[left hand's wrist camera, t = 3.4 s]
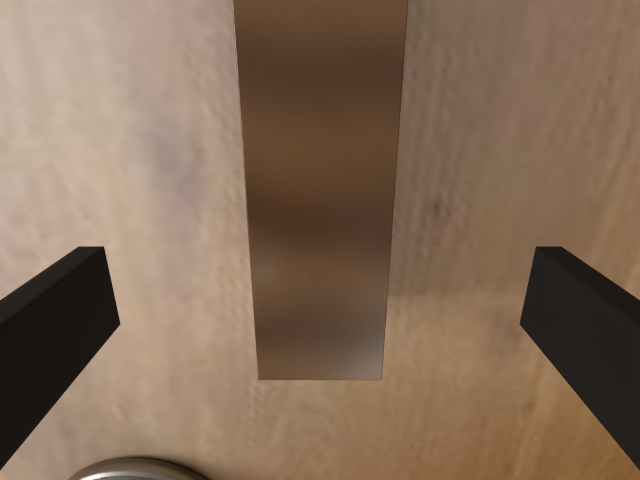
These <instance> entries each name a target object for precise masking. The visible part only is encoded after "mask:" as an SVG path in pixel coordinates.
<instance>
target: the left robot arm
mask: <svg viewBox="0 0 640 480" xmlns="http://www.w3.org/2000/svg"><path fill="white" fill-rule="evenodd" d="M119 325H120V320H119V315H118V311H117V306H116V301H115V297H114V292H113V287H112V282H111V278H110V273H109V268H108V264H107V259H106V254H105V249H104V247H77V248H76V249H74V250H73V251H72V252H70V253H69V254H67V255H66V256H64V257H63V258H61V259H60V260H58V261H57V262H55V263H54V264H53V265H51V266H50V267H48V268H47V269H45V270H44V271H42V272H41V273H39V274H38V275H37V276H35V277H34V278H32V279H31V280H29V281H28V282H26V283H25V284H23V285H22V286H20V287H19V288H18V289H16V290H15V291H13V292H12V293H10V294H9V295H7V296H6V297H4V298H3V299H2V300H0V470H1V469H2V468H3V466H4V465H5V464H6V463H7V462H8V460H9V459H10V458H11V457H12V455H13V454H14V453H15V452H16V451H17V449H18V448H19V447H20V446H21V444H22V443H23V442H24V441H25V440H26V438H27V437H28V436H29V435H30V434H31V432H32V431H33V430H34V429H35V427H36V426H37V425H38V424H39V423H40V421H41V420H42V419H43V418H44V416H45V415H46V414H47V413H48V412H49V410H50V409H51V408H52V407H53V406H54V404H55V403H56V402H57V401H58V399H59V398H60V397H61V396H62V395H63V393H64V392H65V391H66V390H67V388H68V387H69V386H70V385H71V384H72V382H73V381H74V380H75V379H76V378H77V376H78V375H79V374H80V373H81V371H82V370H83V369H84V368H85V367H86V365H87V364H88V363H89V362H90V360H91V359H92V358H93V357H94V356H95V354H96V353H97V352H98V351H99V350H100V348H101V347H102V346H103V345H104V343H105V342H106V341H107V340H108V339H109V337H110V336H111V335H112V334H113V332H114V331H115V330H116V329H117V328H118V326H119ZM520 325H521V326H522V328H523V329H524V330H525V331H526V332H527V334H528V335H529V336H530V337H531V339H532V340H533V341H534V342H535V343H536V345H537V346H538V347H539V348H540V350H541V351H542V352H543V353H544V354H545V356H546V357H547V358H548V359H549V360H550V362H551V363H552V364H553V365H554V367H555V368H556V369H557V370H558V371H559V373H560V374H561V375H562V376H563V378H564V379H565V380H566V381H567V382H568V384H569V385H570V386H571V387H572V388H573V390H574V391H575V392H576V393H577V395H578V396H579V397H580V398H581V399H582V401H583V402H584V403H585V404H586V406H587V407H588V408H589V409H590V410H591V412H592V413H593V414H594V415H595V416H596V418H597V419H598V420H599V421H600V423H601V424H602V425H603V426H604V427H605V429H606V430H607V431H608V432H609V434H610V435H611V436H612V437H613V438H614V440H615V441H616V442H617V443H618V444H619V446H620V447H621V448H622V449H623V451H624V452H625V453H626V454H627V455H628V457H629V458H630V459H631V460H632V462H633V463H634V464H635V465H636V466H637V468H638V469H639V470H640V300H638V299H637V298H636V297H634V296H633V295H631V294H630V293H628V292H627V291H625V290H624V289H622V288H621V287H620V286H618V285H617V284H615V283H614V282H612V281H611V280H609V279H608V278H606V277H605V276H603V275H602V274H601V273H599V272H598V271H596V270H595V269H593V268H592V267H590V266H589V265H587V264H586V263H585V262H583V261H582V260H580V259H579V258H577V257H576V256H574V255H573V254H571V253H570V252H568V251H567V250H566V249H564V248H563V247H536V249H535V254H534V259H533V264H532V268H531V273H530V278H529V282H528V287H527V292H526V297H525V301H524V306H523V311H522V315H521V320H520ZM69 480H206V479H204V478H203V477H201V476H200V475H198V474H196V473H194V472H192V471H190V470H188V469H185V468H183V467H180V466H177V465H174V464H171V463H167V462H163V461H158V460H153V459H144V458H121V459H113V460H107V461H103V462H100V463H96V464H94V465H91V466H89V467H86V468H84V469H82V470H81V471H79V472H77V473H76V474H75V475H73V476H72V477H71V478H70V479H69Z"/></svg>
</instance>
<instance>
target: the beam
mask: <svg viewBox="0 0 640 480" xmlns="http://www.w3.org/2000/svg"><path fill="white" fill-rule="evenodd" d="M232 7H233V22H234V36H235V50H236V65H237V79H238V93H239V108H240V122H241V137H242V151H243V165H244V180H245V194H246V208H247V223H248V237H249V251H250V266H251V280H252V294H253V309H254V323H255V338H256V352H257V366H258V379H259V380H381V379H382V368H383V353H384V339H385V324H386V310H387V296H388V281H389V267H390V253H391V238H392V224H393V209H394V195H395V181H396V166H397V152H398V138H399V123H400V109H401V94H402V80H403V66H404V51H405V37H406V23H407V8H408V0H232Z"/></svg>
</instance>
